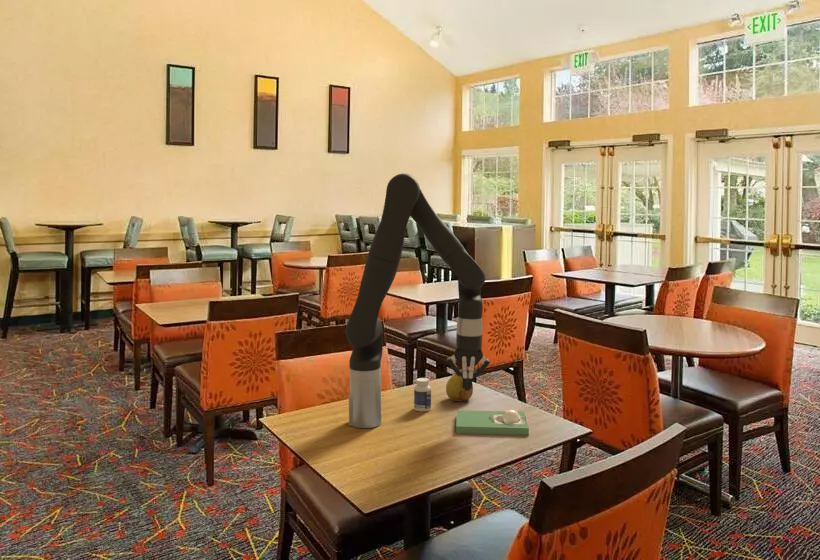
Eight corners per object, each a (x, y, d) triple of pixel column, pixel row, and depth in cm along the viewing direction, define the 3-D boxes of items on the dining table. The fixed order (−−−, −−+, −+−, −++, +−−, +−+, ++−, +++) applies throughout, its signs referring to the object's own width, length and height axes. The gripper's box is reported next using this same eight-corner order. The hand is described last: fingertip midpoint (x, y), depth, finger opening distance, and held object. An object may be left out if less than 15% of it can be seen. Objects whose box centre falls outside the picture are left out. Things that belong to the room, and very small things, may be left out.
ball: (509, 409, 183) (523, 418, 183) (508, 404, 187) (522, 413, 187) (500, 422, 183) (514, 431, 183) (499, 417, 188) (512, 426, 188)
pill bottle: (429, 412, 198) (429, 382, 197) (412, 411, 199) (412, 381, 198) (432, 407, 203) (432, 377, 202) (416, 406, 204) (415, 376, 203)
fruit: (442, 397, 213) (442, 362, 212) (467, 394, 216) (467, 360, 214) (451, 405, 205) (451, 369, 203) (477, 402, 208) (477, 366, 206)
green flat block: (456, 433, 180) (456, 426, 180) (456, 416, 194) (456, 410, 194) (529, 435, 178) (529, 428, 178) (524, 418, 192) (524, 411, 192)
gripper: (446, 334, 180) (444, 392, 183) (492, 336, 179) (490, 395, 182) (446, 328, 188) (445, 385, 190) (491, 330, 187) (489, 387, 189)
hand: (467, 389), depth 186 cm, fingers closed
